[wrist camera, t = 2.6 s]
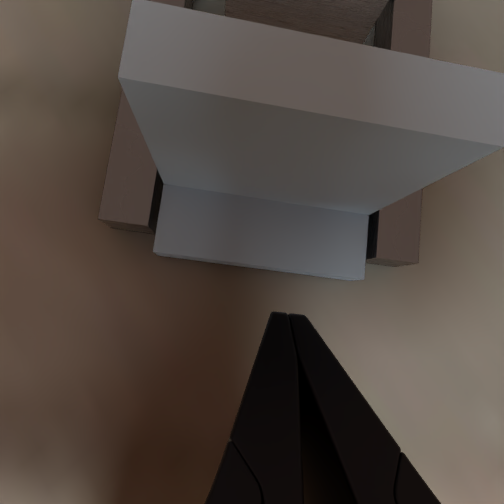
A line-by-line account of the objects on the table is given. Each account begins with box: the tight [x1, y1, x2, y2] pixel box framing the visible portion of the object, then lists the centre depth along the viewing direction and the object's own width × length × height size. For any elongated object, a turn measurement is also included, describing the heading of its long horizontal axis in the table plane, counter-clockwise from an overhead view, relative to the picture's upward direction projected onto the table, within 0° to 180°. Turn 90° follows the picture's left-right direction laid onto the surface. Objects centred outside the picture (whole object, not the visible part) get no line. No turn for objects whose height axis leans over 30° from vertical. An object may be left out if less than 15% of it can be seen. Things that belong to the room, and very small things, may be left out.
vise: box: [98, 0, 432, 267], centre depth 15 cm, size 17×14×6 cm
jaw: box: [118, 0, 504, 281], centre depth 12 cm, size 6×9×9 cm, turn 83°
